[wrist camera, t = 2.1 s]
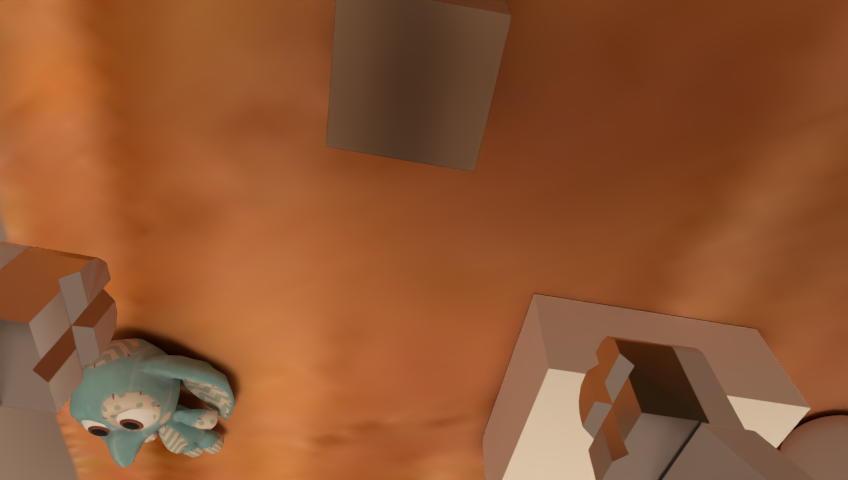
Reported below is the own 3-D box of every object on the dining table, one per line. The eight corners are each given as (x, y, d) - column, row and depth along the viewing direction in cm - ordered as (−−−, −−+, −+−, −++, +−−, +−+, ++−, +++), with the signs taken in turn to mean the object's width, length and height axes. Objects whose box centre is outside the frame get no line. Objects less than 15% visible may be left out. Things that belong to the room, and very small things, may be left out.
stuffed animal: (128, 517, 38) (-17, 445, 31) (162, 423, 44) (45, 341, 36) (260, 495, 36) (140, 411, 28) (279, 398, 41) (182, 305, 33)
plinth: (756, 328, 33) (810, 408, 28) (663, 464, 41) (693, 545, 36) (533, 293, 32) (548, 368, 27) (482, 438, 40) (486, 517, 35)
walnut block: (499, -13, 23) (512, 15, 18) (470, 118, 27) (474, 172, 22) (362, -39, 23) (337, -18, 18) (350, 97, 26) (325, 146, 21)
